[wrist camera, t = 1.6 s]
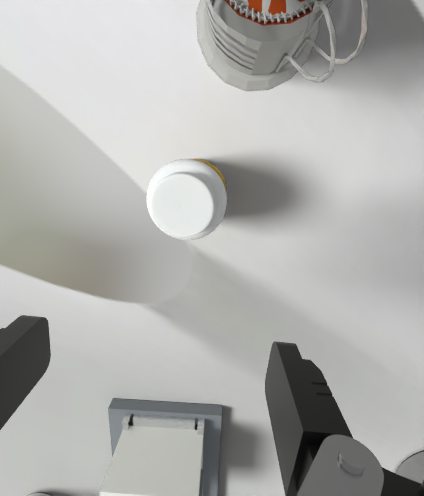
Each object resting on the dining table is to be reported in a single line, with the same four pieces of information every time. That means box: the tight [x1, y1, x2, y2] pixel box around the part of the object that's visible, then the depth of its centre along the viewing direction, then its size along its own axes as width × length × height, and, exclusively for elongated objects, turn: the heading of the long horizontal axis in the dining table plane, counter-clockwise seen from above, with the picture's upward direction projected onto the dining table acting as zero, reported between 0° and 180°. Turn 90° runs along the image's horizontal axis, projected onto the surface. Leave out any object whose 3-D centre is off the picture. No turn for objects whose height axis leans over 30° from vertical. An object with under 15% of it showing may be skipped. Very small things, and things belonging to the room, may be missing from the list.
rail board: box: [108, 398, 222, 496], centre depth 38 cm, size 26×13×2 cm, turn 178°
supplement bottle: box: [147, 159, 227, 240], centre depth 23 cm, size 6×6×10 cm
